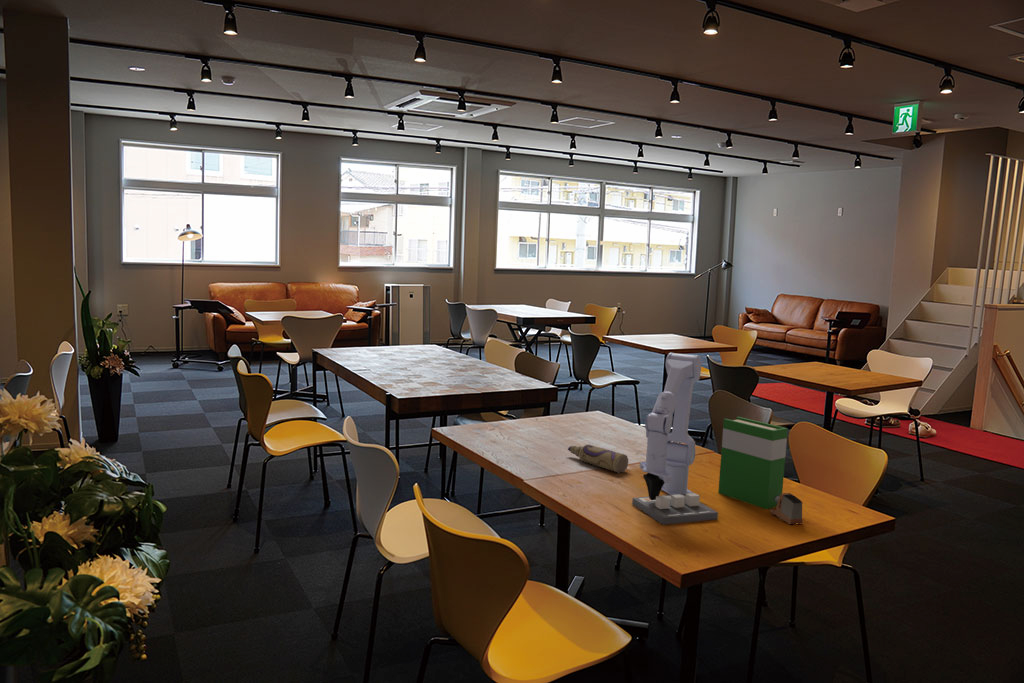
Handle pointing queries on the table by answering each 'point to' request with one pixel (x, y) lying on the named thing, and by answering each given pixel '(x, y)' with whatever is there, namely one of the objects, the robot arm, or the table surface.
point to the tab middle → (677, 501)
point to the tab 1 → (662, 502)
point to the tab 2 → (692, 499)
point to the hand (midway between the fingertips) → (653, 499)
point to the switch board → (675, 511)
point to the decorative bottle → (601, 457)
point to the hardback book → (752, 461)
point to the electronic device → (788, 508)
